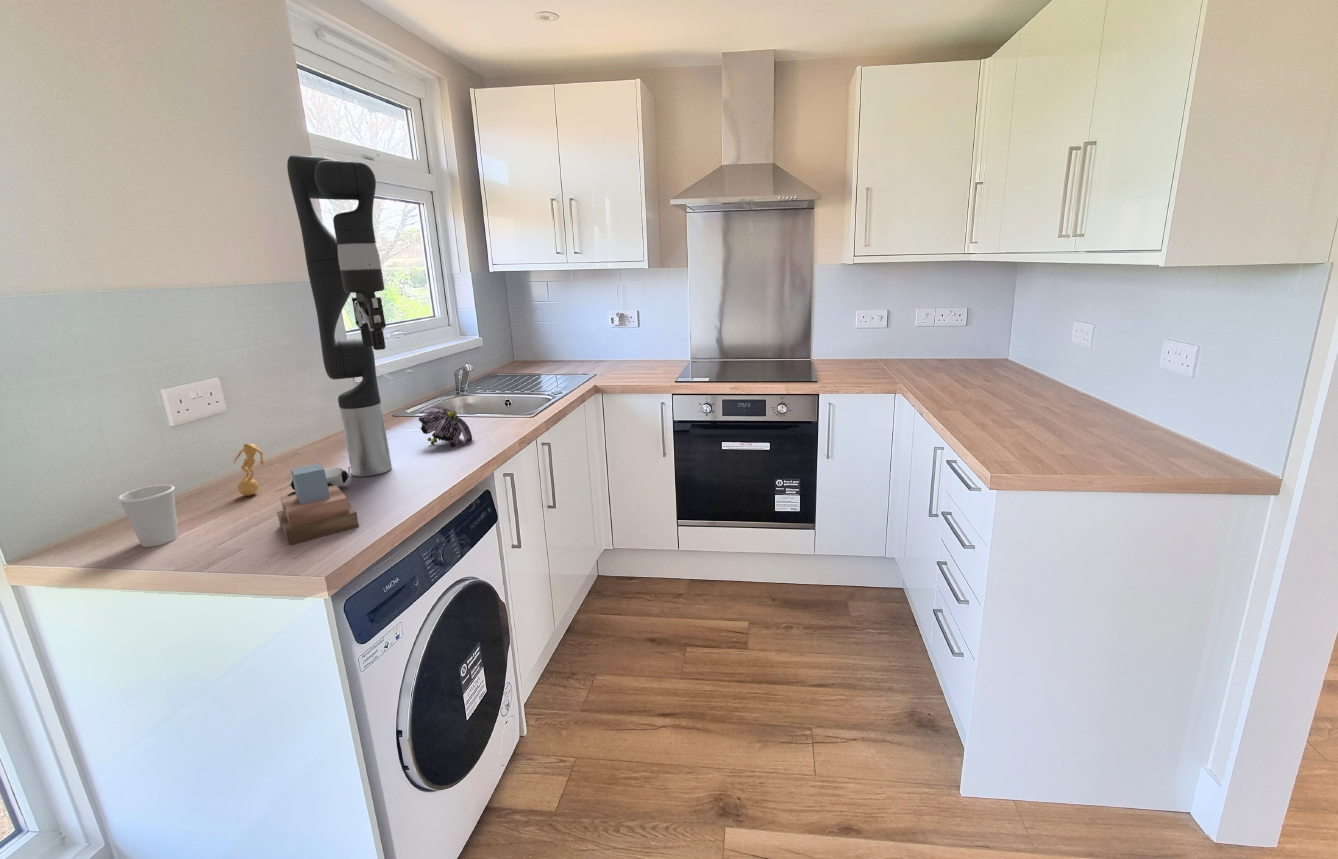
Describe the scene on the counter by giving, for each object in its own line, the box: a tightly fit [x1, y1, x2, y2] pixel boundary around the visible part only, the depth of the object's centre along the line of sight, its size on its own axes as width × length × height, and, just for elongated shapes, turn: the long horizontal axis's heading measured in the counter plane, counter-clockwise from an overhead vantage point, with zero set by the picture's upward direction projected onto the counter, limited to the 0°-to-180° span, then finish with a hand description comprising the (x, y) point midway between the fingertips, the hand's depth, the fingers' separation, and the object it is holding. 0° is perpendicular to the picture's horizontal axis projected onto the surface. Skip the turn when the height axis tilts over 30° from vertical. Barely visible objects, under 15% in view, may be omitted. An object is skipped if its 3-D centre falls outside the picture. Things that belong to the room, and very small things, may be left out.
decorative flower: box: [418, 406, 473, 448], centre depth 176 cm, size 15×12×15 cm
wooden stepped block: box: [276, 485, 360, 546], centre depth 121 cm, size 12×12×6 cm
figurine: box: [233, 442, 264, 497], centre depth 141 cm, size 8×6×12 cm
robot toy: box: [286, 465, 351, 497], centre depth 139 cm, size 12×4×15 cm
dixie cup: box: [117, 484, 179, 548], centre depth 117 cm, size 8×8×10 cm
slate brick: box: [290, 462, 330, 505], centre depth 120 cm, size 5×5×6 cm
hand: (374, 348), depth 128 cm, fingers open, 8 cm apart
